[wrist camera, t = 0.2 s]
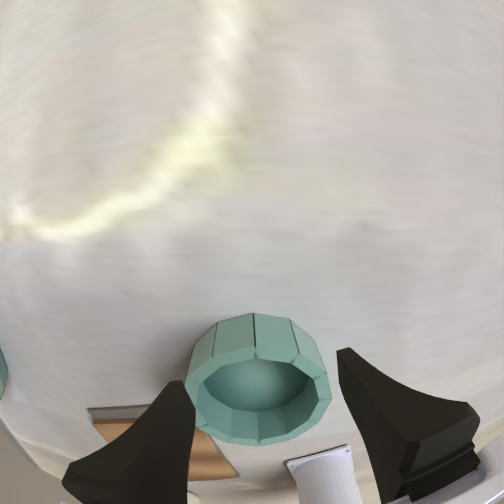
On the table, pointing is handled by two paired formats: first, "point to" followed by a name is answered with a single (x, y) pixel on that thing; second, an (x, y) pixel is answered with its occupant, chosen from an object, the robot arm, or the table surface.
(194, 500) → the milk bottle
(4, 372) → the flower pot
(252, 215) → the table surface
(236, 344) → the bowl
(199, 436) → the lid
